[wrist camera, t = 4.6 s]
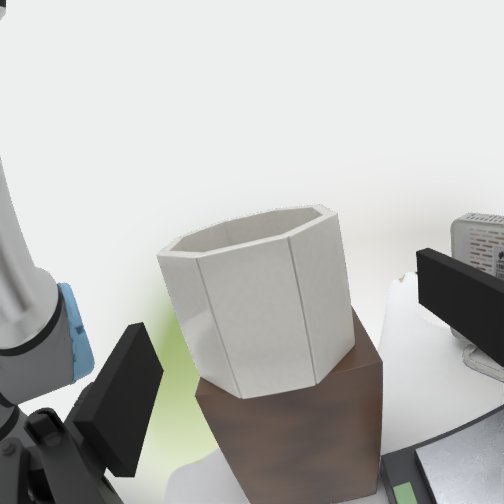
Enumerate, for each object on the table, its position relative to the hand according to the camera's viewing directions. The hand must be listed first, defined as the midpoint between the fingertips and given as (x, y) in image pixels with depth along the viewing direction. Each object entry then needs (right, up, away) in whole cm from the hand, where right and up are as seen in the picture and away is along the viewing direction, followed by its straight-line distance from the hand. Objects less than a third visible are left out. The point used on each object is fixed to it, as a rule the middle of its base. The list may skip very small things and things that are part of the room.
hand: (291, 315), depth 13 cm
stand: (+5, -21, +14) cm, 25 cm away
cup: (0, -4, +9) cm, 10 cm away
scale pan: (+20, -17, +1) cm, 26 cm away
